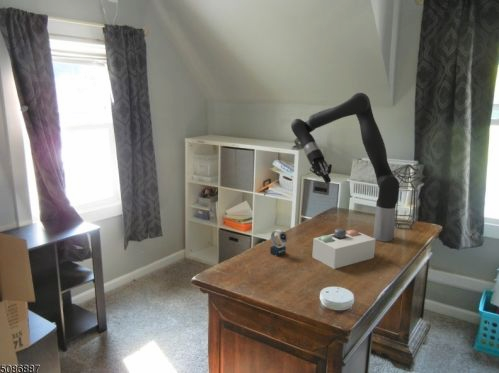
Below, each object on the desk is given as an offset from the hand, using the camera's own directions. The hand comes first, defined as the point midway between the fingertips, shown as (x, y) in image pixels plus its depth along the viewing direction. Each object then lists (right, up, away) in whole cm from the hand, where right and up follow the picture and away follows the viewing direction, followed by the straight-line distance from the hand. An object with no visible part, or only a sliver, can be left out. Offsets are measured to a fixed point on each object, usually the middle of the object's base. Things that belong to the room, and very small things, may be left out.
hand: (328, 182), depth 197 cm
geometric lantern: (+47, -24, +34) cm, 63 cm away
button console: (+4, -34, -11) cm, 36 cm away
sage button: (-4, -28, -14) cm, 32 cm away
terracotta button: (+10, -26, -6) cm, 29 cm away
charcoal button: (+3, -25, -11) cm, 28 cm away
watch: (-25, -33, -8) cm, 42 cm away
